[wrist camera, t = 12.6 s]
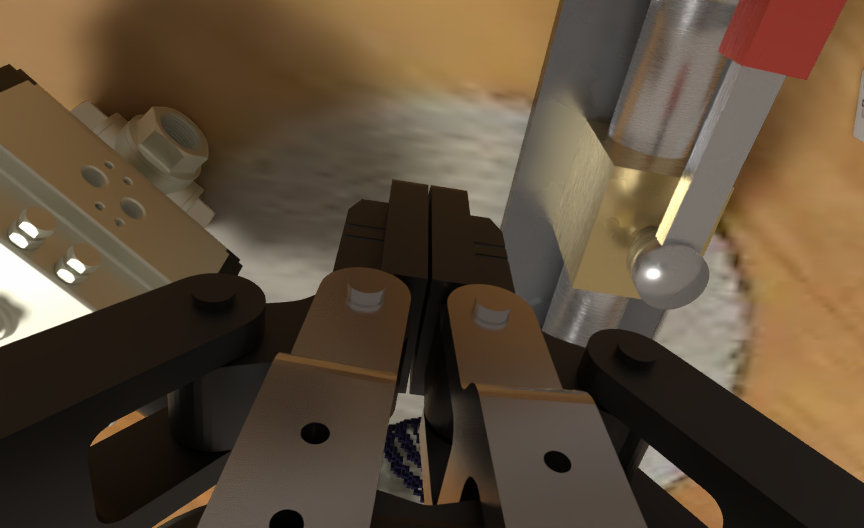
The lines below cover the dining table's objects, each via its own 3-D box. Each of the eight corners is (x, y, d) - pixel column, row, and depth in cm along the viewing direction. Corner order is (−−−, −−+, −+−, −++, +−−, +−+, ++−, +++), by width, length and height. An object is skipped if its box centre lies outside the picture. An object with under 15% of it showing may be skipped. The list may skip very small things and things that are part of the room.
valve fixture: (474, 328, 45) (480, 428, 36) (580, -79, 32) (627, -68, 23) (635, 353, 46) (676, 456, 37) (804, -33, 32) (927, -8, 24)
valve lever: (768, -90, 23) (800, -88, 21) (850, -70, 23) (889, -66, 21) (615, 277, 31) (627, 304, 29) (677, 289, 31) (693, 317, 29)
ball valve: (308, 219, 41) (224, 416, 25) (224, 289, 44) (103, 503, 28) (68, -9, 34) (-244, 72, 19) (-13, 92, 37) (-339, 234, 22)
